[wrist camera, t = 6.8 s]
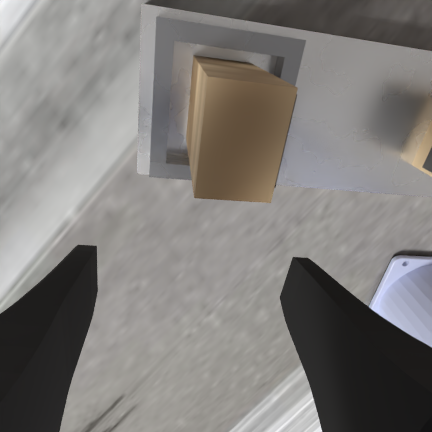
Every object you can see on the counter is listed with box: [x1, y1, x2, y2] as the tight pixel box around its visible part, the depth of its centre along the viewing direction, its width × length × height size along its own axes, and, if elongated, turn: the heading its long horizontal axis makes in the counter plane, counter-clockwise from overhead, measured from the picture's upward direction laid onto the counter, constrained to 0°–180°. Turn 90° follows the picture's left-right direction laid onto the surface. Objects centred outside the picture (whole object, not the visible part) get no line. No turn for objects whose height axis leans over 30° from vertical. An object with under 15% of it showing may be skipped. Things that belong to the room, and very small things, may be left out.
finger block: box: [186, 55, 298, 203], centre depth 14 cm, size 3×4×7 cm
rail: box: [137, 3, 432, 197], centre depth 18 cm, size 20×8×3 cm, turn 82°
